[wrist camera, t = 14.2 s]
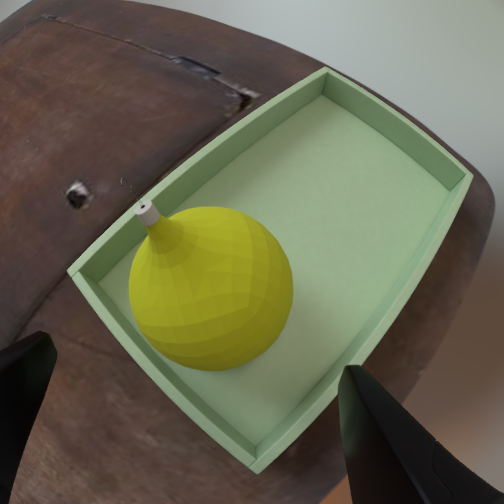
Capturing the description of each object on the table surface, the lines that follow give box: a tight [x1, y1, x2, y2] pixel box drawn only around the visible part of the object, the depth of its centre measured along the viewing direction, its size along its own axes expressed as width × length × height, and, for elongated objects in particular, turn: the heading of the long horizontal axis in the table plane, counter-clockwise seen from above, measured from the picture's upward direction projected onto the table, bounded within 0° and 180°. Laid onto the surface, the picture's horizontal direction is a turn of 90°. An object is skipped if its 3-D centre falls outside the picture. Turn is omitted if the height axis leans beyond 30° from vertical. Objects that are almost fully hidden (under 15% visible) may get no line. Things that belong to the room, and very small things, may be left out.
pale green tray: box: [67, 67, 473, 474], centre depth 17 cm, size 14×23×3 cm, turn 137°
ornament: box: [121, 178, 294, 371], centre depth 12 cm, size 7×7×10 cm
